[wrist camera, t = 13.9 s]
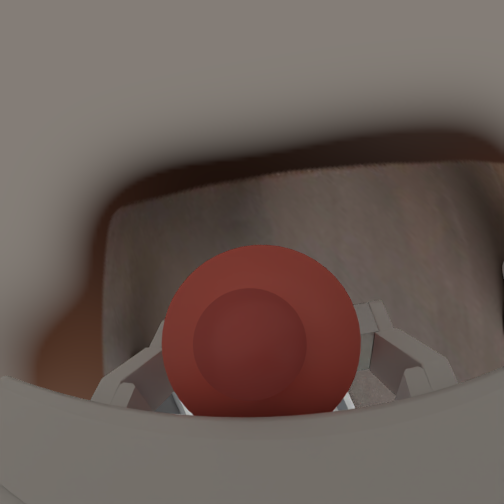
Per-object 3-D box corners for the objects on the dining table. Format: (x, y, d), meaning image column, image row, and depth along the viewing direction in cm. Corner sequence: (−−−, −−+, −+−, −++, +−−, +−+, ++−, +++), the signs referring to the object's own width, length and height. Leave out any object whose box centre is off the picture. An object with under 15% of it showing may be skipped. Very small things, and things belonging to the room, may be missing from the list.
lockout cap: (288, 275, 15) (264, 189, 7) (351, 347, 13) (415, 352, 5) (215, 335, 15) (109, 321, 6) (274, 409, 13) (230, 489, 5)
